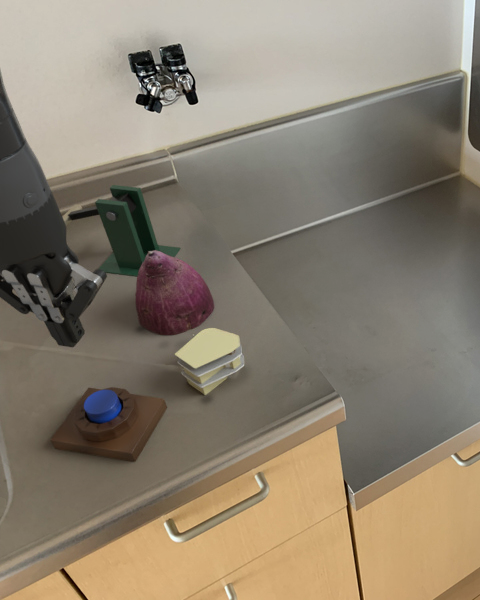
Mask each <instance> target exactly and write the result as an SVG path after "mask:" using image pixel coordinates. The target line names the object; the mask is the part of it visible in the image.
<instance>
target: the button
mask: <svg viewBox="0 0 480 600" xmlns="http://www.w3.org/2000/svg"><path fill="white" fill-rule="evenodd" d="M84 409H85V411H86V413H87V415H88V417H89V419H90V420H91V421H92V422H94V423H106V422H109V421H111V420H112V419H114V418H115V417H117V416H118V415H119V413H120V411H121V403H120V401H119V399H118V396H117V394H116V393H115V392H114V391H111V390H100V391H97V392H95V393H93V394H91V395H90V396H89V397H88V398H87V399H86V401H85V403H84Z"/></svg>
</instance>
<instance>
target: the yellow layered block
mask: <svg viewBox="0 0 480 600" xmlns="http://www.w3.org/2000/svg"><path fill="white" fill-rule="evenodd" d="M242 352H243V351H242V343H241V341H240V335H238V334H235V333H232V332H229V331H226V330H222V329H219V328H215V327H209V328H205V329H202V330H200V331H199V332H198V333H197V334H196V335H195V336H194V337H192V338H191V339H190V340H189V341H188V342H187V343H185V344H184V345H183V346H182V347H181V348H180V349H179V350H178V351H176V352H175V353H174V355H175V356H176V357H178V358H179V359H178V360H177V361H176V362H177V364H178V365H179V366H181V367H183V370H182V371H181V372H180V374H181V375H182V376H183V377H184V378H185V379H186V380H187V384H189V385H190V386H192V388H194V389H195V390H197V391H198V392H200V393H201V394H202V395H204V396H206V395H207V394H209V393H211V392H212V391H213V390H214V389H216V387H218V386H219V385H220V384H222V383H223V382H224V381H225V380H227V379H228V376H230V375H233V374H235V373H237V372H238V371H239V370H241V369H242V368H243V367H244V366H245V356H244V353H242Z"/></svg>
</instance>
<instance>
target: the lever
mask: <svg viewBox="0 0 480 600" xmlns="http://www.w3.org/2000/svg"><path fill="white" fill-rule="evenodd" d="M109 200H112V201H122V202H127V204H128V208H129V211H130V214H131V213H132V212H133V211H134V210H135V208H136V207H137V206H136V204H135V203H134V201H133V200H132V198H131V197H130V195H129V194H128V193H127V194H122V195H118V196H113V197H111V198H110V199H109ZM96 216H100V215H99V212H98V210H97V207H96V205H95V206H92V207H86V208H83V207H82V206H81V204H77V203H76V204H74V205H73V206H72V207H71V208H69V209H68V211H66V213H64V214H62V217H63V219H64V222H65V224H66V227H67V226H69V224H71V222H72V221H75V220H81V219H85V218H86V219H87V218H90V217H96Z"/></svg>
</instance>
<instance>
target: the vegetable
mask: <svg viewBox="0 0 480 600" xmlns="http://www.w3.org/2000/svg"><path fill="white" fill-rule="evenodd" d="M135 287H136V288H135V293H134V294H135V295H134V296H135V301H134V302H135V309H136V313H137V319H138V323H139V325H140V326H141V327H143V328H144V329H146V330H147V331H149V332H152V333H154V334H157V335H160V336H176V335H177V336H178V335H180V334H183V333H186V332H187V331H189V330H193V329H196V328H198V327H200V326H202V324H203V323H204V322H206V320H207V319H209V317H210V316H211V315H212V314H213V313H214V310H215V302H214V297H213V295H212V293H211V290H210V288H209V285H208V283H207V282H206V281H205V279H204V278H203V277H202V275H201V273H199V272H198V271H197V270H196V269H195V268H194V267H193V266H191V265H190V264H189V263H187V262H186V261H184V260H181V259H180V258H177V257H176V256H175V257H171V256H169V255H166V254H164V253H162V252H160V251H156V250H155V251H148V254H147V255H146V257H145V260H144V262H143V263H142V265H141V267H140V269H139V272H138V276H137V277H136V282H135Z"/></svg>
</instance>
